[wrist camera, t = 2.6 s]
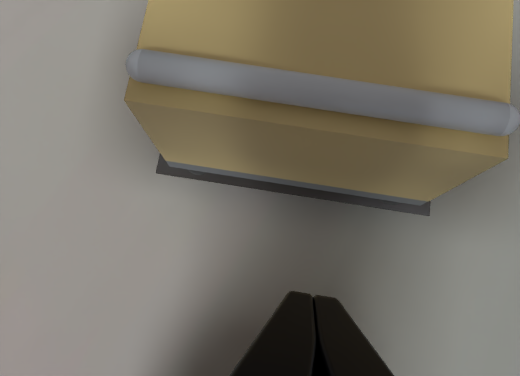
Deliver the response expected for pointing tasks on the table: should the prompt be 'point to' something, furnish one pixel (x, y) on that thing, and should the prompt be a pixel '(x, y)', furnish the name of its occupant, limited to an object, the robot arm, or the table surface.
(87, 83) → the table surface
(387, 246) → the table surface
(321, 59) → the yellow box
